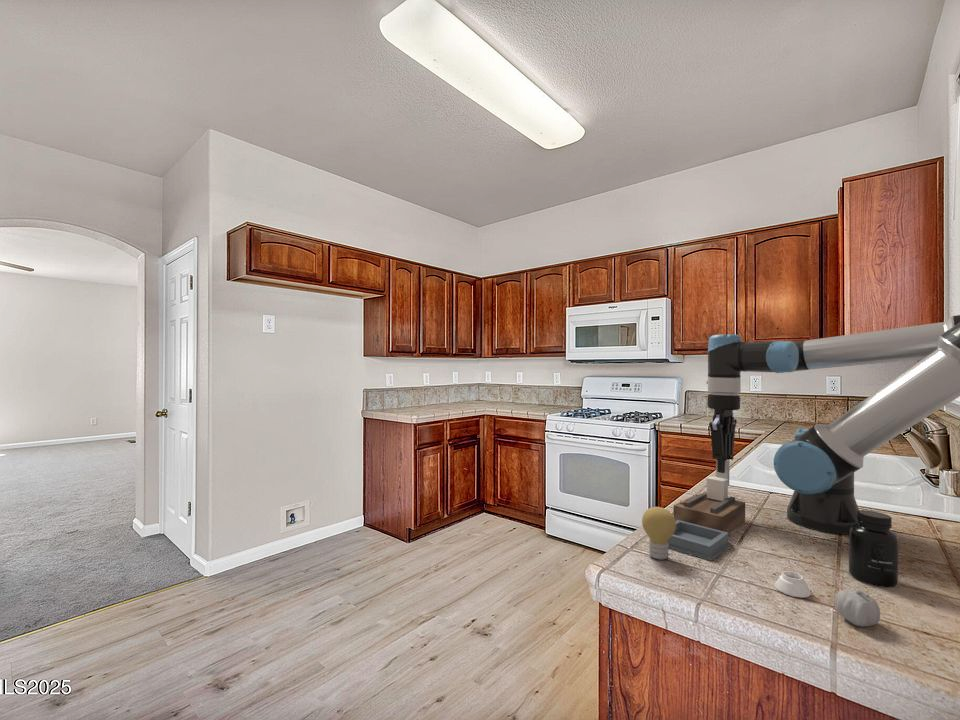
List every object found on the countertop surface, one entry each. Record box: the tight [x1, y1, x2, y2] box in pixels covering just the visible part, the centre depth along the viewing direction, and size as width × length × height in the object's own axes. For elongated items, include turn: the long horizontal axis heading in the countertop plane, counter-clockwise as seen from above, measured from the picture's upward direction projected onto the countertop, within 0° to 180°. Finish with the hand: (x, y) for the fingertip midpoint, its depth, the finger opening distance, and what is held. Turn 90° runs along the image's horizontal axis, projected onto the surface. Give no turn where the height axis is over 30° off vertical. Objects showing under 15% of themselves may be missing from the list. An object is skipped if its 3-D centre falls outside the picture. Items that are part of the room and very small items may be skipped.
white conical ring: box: [774, 570, 812, 599], centre depth 78 cm, size 5×3×5 cm
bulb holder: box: [667, 520, 733, 562], centre depth 98 cm, size 12×12×3 cm
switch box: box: [673, 490, 746, 535], centre depth 110 cm, size 11×16×6 cm
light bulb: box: [641, 506, 676, 561], centre depth 91 cm, size 6×6×10 cm
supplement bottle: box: [848, 509, 900, 588], centre depth 82 cm, size 7×7×12 cm
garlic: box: [834, 588, 881, 628], centre depth 69 cm, size 6×5×5 cm
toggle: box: [706, 475, 729, 501], centre depth 114 cm, size 4×3×5 cm
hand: (722, 484), depth 117 cm, fingers closed
